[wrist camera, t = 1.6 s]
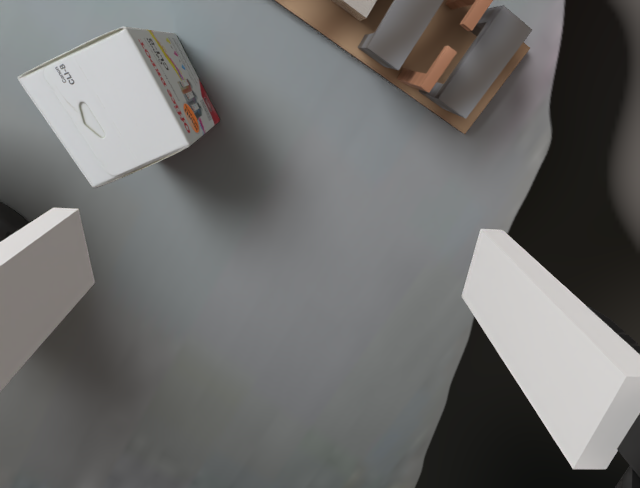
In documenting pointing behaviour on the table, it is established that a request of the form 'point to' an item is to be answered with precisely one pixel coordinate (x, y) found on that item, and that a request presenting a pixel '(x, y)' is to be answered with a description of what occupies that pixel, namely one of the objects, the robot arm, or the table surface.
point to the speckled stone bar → (357, 7)
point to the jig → (429, 48)
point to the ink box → (122, 102)
